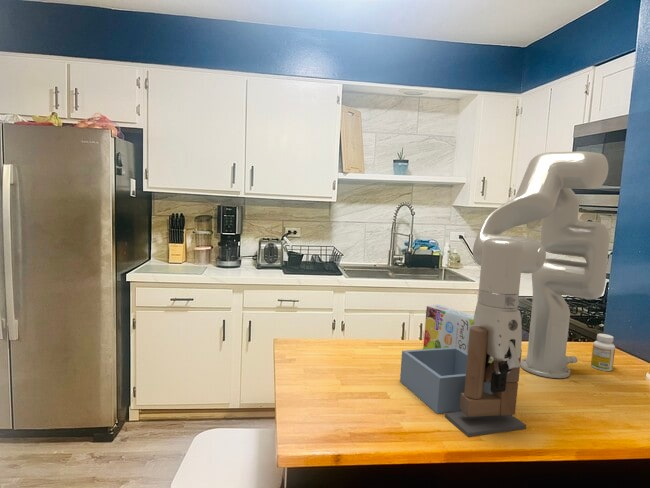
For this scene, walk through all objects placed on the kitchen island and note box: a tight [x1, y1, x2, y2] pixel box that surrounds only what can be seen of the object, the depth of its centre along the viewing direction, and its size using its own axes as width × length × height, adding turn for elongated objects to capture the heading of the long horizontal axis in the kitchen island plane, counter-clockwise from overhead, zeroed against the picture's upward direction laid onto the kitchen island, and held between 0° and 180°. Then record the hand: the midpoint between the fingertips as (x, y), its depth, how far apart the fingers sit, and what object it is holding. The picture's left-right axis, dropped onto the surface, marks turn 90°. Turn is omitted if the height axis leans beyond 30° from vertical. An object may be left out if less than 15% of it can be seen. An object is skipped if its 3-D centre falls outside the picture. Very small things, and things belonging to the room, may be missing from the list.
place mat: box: [444, 411, 527, 438], centre depth 90 cm, size 14×8×1 cm, turn 108°
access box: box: [399, 347, 492, 415], centre depth 103 cm, size 16×17×8 cm
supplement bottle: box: [590, 333, 616, 372], centre depth 125 cm, size 5×5×10 cm
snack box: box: [422, 304, 494, 363], centre depth 123 cm, size 21×6×15 cm, turn 34°
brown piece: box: [460, 326, 523, 417], centre depth 89 cm, size 4×11×18 cm, turn 100°
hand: (489, 385), depth 89 cm, fingers closed on brown piece, 4 cm apart
